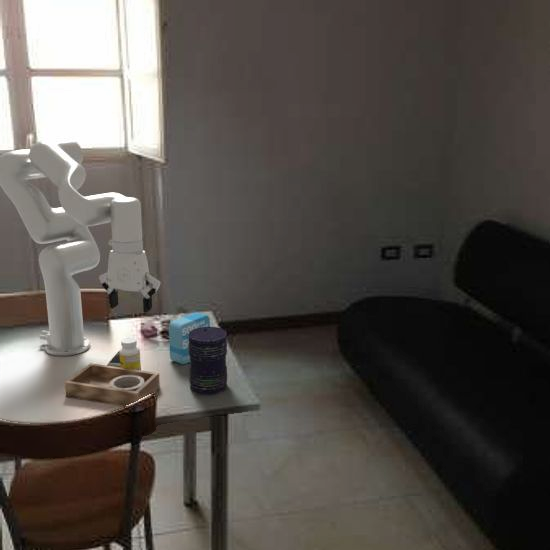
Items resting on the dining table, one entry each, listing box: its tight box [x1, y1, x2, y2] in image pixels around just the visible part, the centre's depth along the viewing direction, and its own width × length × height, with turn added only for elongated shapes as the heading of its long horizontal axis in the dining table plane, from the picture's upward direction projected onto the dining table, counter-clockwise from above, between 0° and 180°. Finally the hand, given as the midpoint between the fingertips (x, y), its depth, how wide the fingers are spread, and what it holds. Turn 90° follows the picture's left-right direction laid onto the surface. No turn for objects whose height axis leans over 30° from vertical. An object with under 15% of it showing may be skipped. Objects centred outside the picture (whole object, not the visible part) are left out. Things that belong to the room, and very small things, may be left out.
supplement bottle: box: [118, 337, 142, 371], centre depth 177 cm, size 5×5×10 cm
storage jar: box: [188, 326, 228, 397], centre depth 170 cm, size 10×10×15 cm
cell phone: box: [107, 350, 120, 367], centre depth 187 cm, size 6×11×1 cm, turn 173°
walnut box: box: [64, 362, 161, 407], centre depth 168 cm, size 20×12×4 cm, turn 74°
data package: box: [168, 311, 211, 365], centre depth 188 cm, size 12×4×12 cm, turn 142°
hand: (130, 308), depth 174 cm, fingers open, 9 cm apart
